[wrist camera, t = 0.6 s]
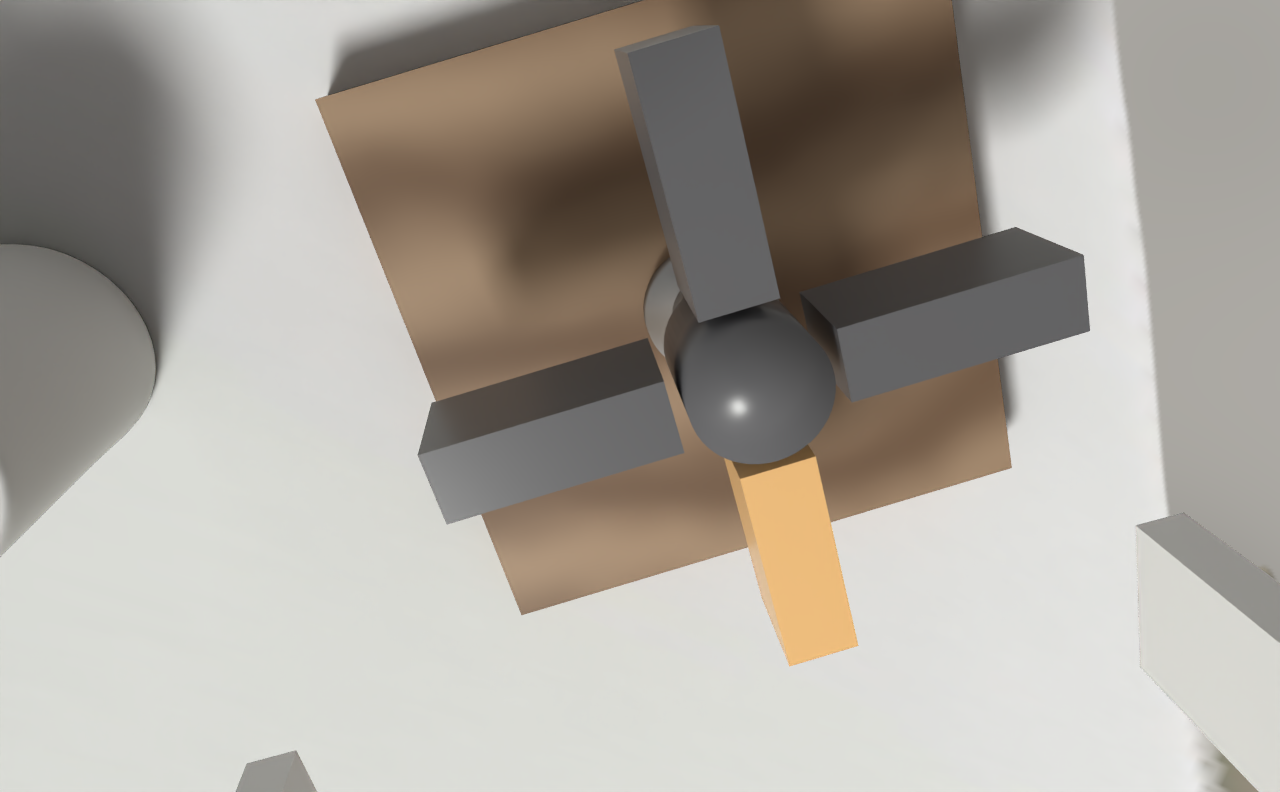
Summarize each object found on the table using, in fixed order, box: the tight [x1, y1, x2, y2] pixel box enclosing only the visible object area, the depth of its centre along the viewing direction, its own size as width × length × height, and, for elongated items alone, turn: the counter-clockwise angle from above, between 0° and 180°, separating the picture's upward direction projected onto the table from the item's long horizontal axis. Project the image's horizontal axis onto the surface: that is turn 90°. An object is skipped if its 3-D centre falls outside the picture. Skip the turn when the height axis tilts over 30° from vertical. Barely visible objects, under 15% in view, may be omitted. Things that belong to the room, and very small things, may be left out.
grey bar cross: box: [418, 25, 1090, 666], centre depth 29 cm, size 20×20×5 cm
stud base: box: [315, 0, 1012, 615], centre depth 34 cm, size 22×22×6 cm
